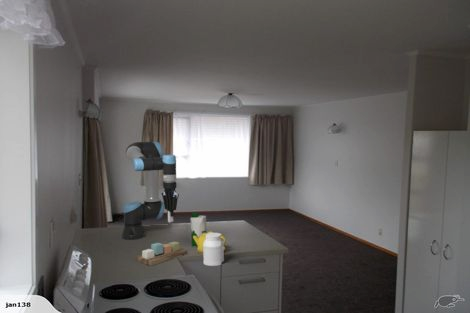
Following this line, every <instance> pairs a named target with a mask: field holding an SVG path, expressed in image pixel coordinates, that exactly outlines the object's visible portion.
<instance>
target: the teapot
mask: <svg viewBox="0 0 470 313" xmlns="http://www.w3.org/2000/svg"><path fill="white" fill-rule="evenodd" d="M208 233H214V232H213V231H207V232H206V233H204V234H202V235H201V236H199V238H198V237H197V236H193V238H194V240H195V242H196V244H197V245H198V247H196V248H197V253H198V254H199V253H203V243H204V241H205V239H206V234H208ZM220 234H221V239H222V241H223V242H224V245H225V244H226V241H227V240H226V238H225V237H224V236H223V234H222V233H220ZM225 250H226V247H225V246H224V251H225Z"/></svg>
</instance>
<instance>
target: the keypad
mask: <svg viewBox="0 0 470 313" xmlns="http://www.w3.org/2000/svg"><path fill="white" fill-rule="evenodd" d="M186 253H187V254H188V251H187V249H185V248H181V247H180V249H178V250H175V251H172V252H169V253H166V254H165V253H161V254H158V255H155V254H154V257H153V258H150V259H145V258H142V253H141V254H138V255H135V261H136V262H137V263H142V264H143V265H146V266H149V267H153V266H156V265H159V264H162V263H164V262H168V261H171V260H173V258H174V259H176V258H175V257H177V256H180V255H183V254H186ZM187 254H186V255H187ZM183 256H184V255H183ZM180 257H181V256H180ZM177 258H178V257H177Z"/></svg>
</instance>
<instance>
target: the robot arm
mask: <svg viewBox="0 0 470 313" xmlns="http://www.w3.org/2000/svg"><path fill="white" fill-rule="evenodd" d="M125 155H126V157H127V158H128V159H129V160H130V161H132V167H133V171H134V172H145V173H144V174H145V199H144V200H143V202H141V201H132V202H128V203H126V204H125V205H124V206H123V221H124V222H123V223H124V224H123V225H124V226H123V229H122V233H121V238H122V240H137V239H139V240H140V239H142V238H145V236H146V232H145V229H144V227H143V221H150V220H159V219H161V218H163V216H164V211H165V210H166V212H167V222H168V223H173V222H174V211H176V210H177V206H178V205H177V204H178V199H179V197H180V195H179V194H178V193H177V190H176V188H177V158H176V157H177V156H176V154H164V155H163V149H162V145H161V144H160V142H159V141H137V142H132V143H131V144H129V145H128V146H127V147H126V149H125ZM159 171H162V175H163V176H162V180H163V183H162V187H163V189H164V190H163V192H161V196H162V199H161V198H160V197H159V193H160V192H159ZM162 200H163V201H162Z"/></svg>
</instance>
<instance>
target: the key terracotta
mask: <svg viewBox="0 0 470 313" xmlns="http://www.w3.org/2000/svg"><path fill="white" fill-rule="evenodd" d="M169 252H172V245H169V244H168V243H163V253H165V254H166V253H169Z"/></svg>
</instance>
